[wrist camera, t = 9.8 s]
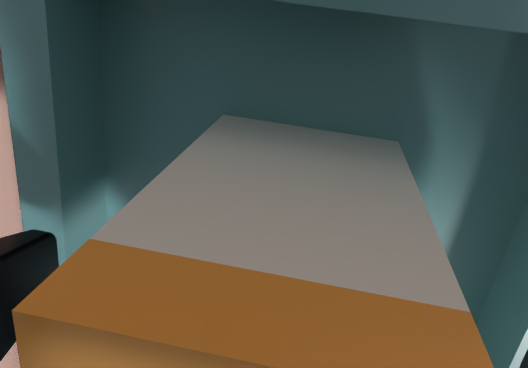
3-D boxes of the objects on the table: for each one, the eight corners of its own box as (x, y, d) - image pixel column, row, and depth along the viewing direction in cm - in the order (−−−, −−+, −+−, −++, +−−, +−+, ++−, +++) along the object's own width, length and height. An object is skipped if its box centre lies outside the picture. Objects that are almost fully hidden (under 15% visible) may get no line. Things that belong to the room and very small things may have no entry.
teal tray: (651, -9, 8) (770, -15, 6) (462, 421, 13) (488, 509, 11) (68, -77, 9) (-19, -102, 7) (92, 338, 14) (44, 401, 12)
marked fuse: (398, 141, 9) (515, 420, 3) (354, 318, 11) (371, 708, 5) (223, 114, 10) (11, 310, 4) (210, 289, 12) (59, 616, 6)
